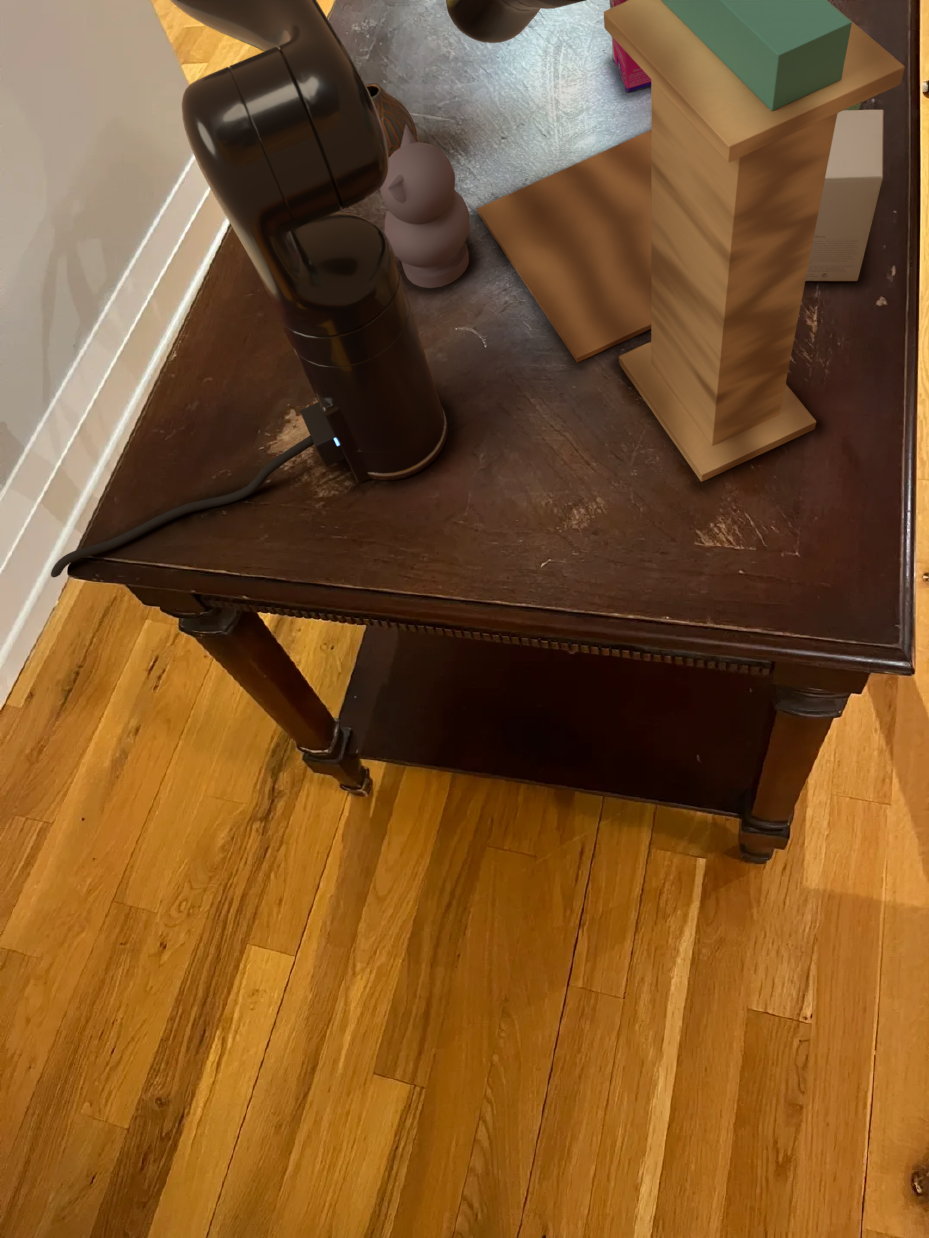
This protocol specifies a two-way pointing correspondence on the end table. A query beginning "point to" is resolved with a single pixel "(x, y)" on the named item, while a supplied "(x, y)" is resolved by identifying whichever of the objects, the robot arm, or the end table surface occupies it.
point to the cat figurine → (425, 214)
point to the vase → (391, 117)
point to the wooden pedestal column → (729, 235)
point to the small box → (848, 196)
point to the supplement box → (628, 64)
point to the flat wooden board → (585, 245)
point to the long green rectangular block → (772, 42)
